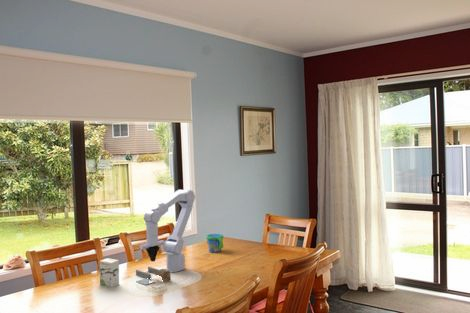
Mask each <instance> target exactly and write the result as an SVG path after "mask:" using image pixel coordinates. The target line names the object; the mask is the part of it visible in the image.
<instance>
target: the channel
mask: <svg viewBox="0 0 470 313" xmlns="http://www.w3.org/2000/svg"><path fill="white" fill-rule="evenodd" d="M157 270H159V269H157V268H154V267H151V266H147V271H143V270H139V269H135V275H136V276H139V277H141V278H143V277H144V278H143V279H146V278H148V279H150V278H151V279H152V274H153V273H155V274H154V275H156V271H157ZM151 279H150V280H151Z"/></svg>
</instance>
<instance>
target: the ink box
mask: <svg viewBox="0 0 470 313" xmlns="http://www.w3.org/2000/svg"><path fill="white" fill-rule="evenodd" d="M119 261H120V260H118V259H114V258H109V257H108V258H104V259H100V260H99V284H100V285H102V286H107V287H111V288H112V287H115V286H117V285H119V284H120V262H119Z"/></svg>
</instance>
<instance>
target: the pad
mask: <svg viewBox="0 0 470 313" xmlns="http://www.w3.org/2000/svg"><path fill="white" fill-rule="evenodd" d="M149 280H151V279H147V278H143V279H139V280H136V281H135V283H138V282H139V283H138V284H140V283H142V284H141V285H143V284H144V286H148V285H147V284H149ZM149 285H150V284H149Z"/></svg>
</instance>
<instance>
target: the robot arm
mask: <svg viewBox="0 0 470 313" xmlns="http://www.w3.org/2000/svg"><path fill="white" fill-rule="evenodd" d="M195 199H196V195H195V192H194V190H191V189H189V190H188V189H182V188H181V189H177V190H176V191H174V192H173V194H172V196H171V197H169V198H168V199H167V200H166V201H165V202H158V204H157V206H154V207H153V208H152V209H151V210H148V211H146V212H145V214H143V215H144V216H143V221H144V222H145V225H146V228H145V229H146V231H145V232H146V243H143V244H140V245H139V250H141V251H144V250H146V252H147V253H148V256H149V259H150V262H152V263H153V262H155V261H156V258H157V254H158V252H159V250H160V246H162V245H163V246H162V249H163V250H164V252H165V254H166V255H165V256H166V267H165V269H167V270H170V274H173V273H176V272H180V271H184V270H186V269H187V268H186V267H185V266H186V261H185V254H184V252H183V248H184V244H185V242H184V239H183V238H182V237H183V236H184V235H183V234H184V233H185V230H186V227H187V224H188V221H189V219H190V215H191V213H192V211H193V208H194V207H193V206H194V202H195ZM176 203H178V204H179V205H180V207H181V208H180V209H181V210H180V211H179V212H180V213H179V215H178V218H177V220H176V223H175V226H174V227H173V231H172V233H171V234H170V235H169V236H168V237H167V238H166V240H159V229H158V228H159V226H158V223H159V222H160V220H161V218H162V217H163V216H164V215H165V214H167V212H169V208H171V207H172V206H173V205H176Z"/></svg>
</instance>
